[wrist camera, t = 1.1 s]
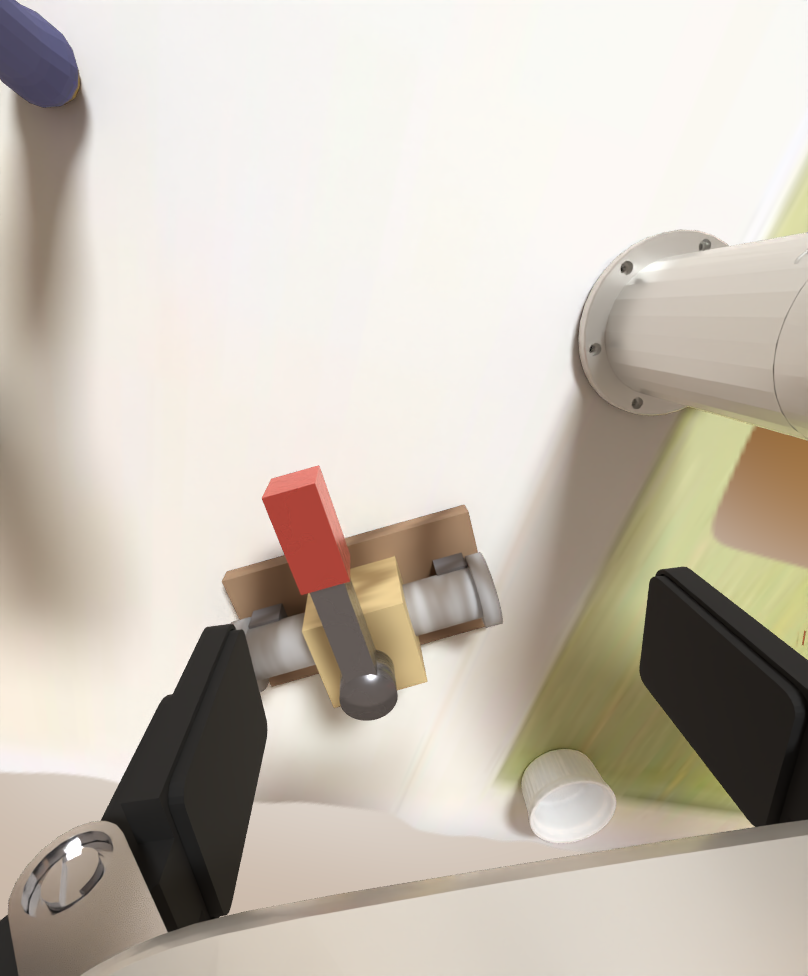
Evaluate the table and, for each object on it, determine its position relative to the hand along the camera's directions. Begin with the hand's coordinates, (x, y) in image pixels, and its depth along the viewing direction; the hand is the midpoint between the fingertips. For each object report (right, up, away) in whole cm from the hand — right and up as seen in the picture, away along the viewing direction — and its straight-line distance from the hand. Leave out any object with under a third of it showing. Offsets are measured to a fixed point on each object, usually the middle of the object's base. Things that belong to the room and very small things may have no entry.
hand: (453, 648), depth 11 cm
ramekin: (+15, -27, +40) cm, 50 cm away
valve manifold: (-4, -5, +30) cm, 30 cm away
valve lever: (-5, -3, +19) cm, 20 cm away
